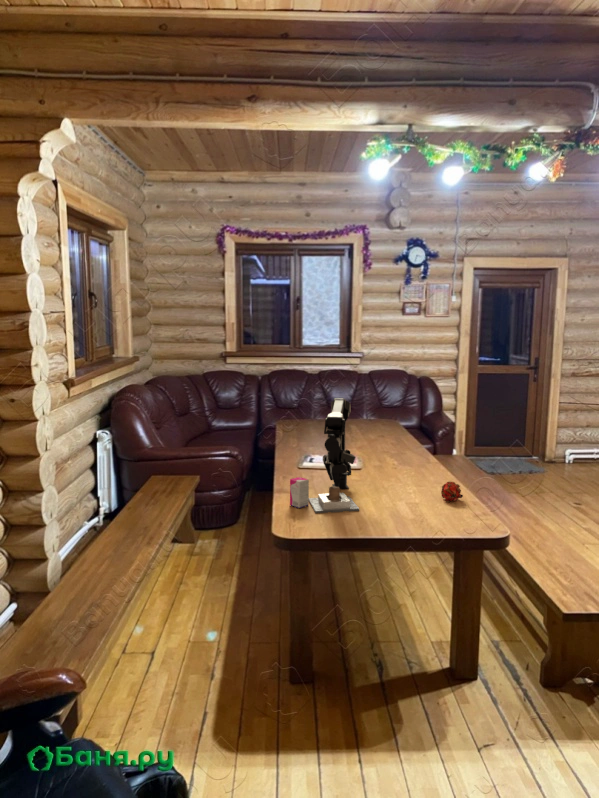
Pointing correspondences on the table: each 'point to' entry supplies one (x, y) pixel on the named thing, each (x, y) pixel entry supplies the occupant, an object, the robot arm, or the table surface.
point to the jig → (332, 504)
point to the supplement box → (299, 492)
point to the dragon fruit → (451, 491)
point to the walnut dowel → (334, 493)
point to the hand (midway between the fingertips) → (334, 483)
